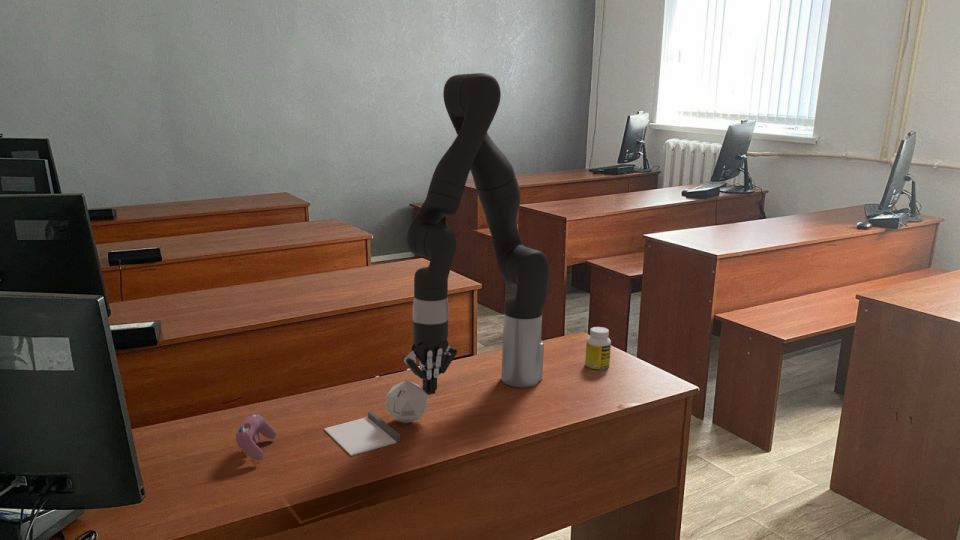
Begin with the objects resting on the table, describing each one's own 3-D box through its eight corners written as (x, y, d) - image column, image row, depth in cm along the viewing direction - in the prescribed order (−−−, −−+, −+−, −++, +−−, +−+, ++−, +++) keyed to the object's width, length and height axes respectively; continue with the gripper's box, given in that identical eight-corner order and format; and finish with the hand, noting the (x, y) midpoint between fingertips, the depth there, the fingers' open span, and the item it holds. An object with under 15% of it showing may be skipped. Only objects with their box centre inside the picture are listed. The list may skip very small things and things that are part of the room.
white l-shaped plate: (371, 417, 157) (371, 410, 156) (400, 441, 147) (400, 434, 146) (324, 429, 151) (324, 423, 150) (351, 456, 140) (350, 449, 140)
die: (378, 427, 153) (377, 383, 150) (401, 410, 160) (401, 369, 158) (411, 436, 149) (411, 392, 146) (434, 419, 156) (434, 377, 154)
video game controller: (257, 440, 147) (246, 410, 145) (278, 436, 146) (267, 405, 145) (240, 466, 137) (228, 433, 135) (263, 460, 137) (250, 428, 135)
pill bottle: (603, 376, 182) (606, 335, 179) (580, 371, 185) (583, 330, 182) (612, 369, 187) (615, 328, 184) (590, 363, 190) (593, 324, 187)
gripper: (447, 307, 159) (446, 381, 163) (394, 317, 151) (394, 393, 155) (466, 317, 153) (464, 392, 157) (412, 327, 145) (411, 406, 150)
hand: (429, 393), depth 156 cm, fingers closed
